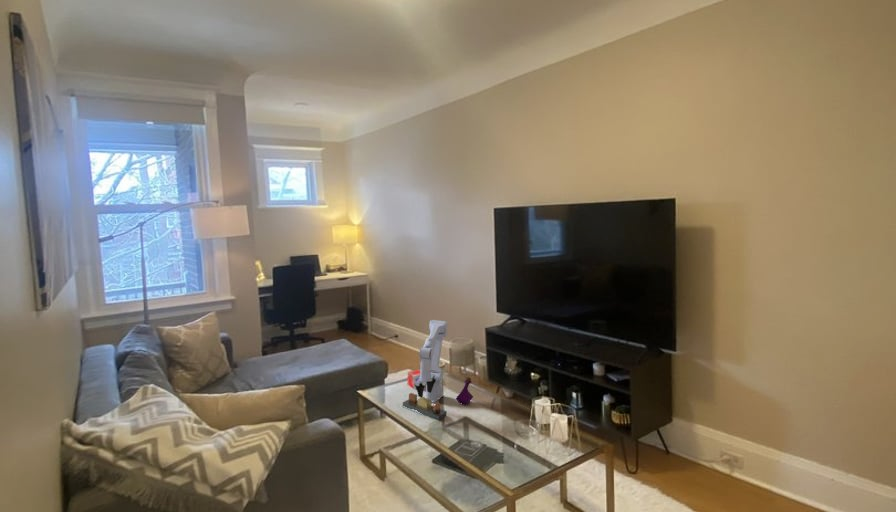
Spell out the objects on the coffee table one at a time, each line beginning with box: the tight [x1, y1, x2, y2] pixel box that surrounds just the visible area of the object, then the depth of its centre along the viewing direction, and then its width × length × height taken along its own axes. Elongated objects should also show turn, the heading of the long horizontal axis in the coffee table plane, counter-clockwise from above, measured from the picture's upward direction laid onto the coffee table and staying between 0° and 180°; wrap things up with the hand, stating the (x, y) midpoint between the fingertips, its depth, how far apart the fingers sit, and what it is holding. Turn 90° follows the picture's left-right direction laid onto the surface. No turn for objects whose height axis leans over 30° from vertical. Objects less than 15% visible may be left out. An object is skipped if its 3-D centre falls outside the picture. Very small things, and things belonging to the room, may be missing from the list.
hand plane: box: [402, 392, 448, 421], centre depth 249 cm, size 7×24×7 cm, turn 55°
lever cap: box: [417, 396, 432, 410], centre depth 249 cm, size 4×6×4 cm, turn 55°
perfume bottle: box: [455, 371, 474, 405], centre depth 260 cm, size 8×8×18 cm
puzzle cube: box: [407, 369, 426, 390], centre depth 282 cm, size 8×8×8 cm
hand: (424, 394), depth 249 cm, fingers open, 7 cm apart
